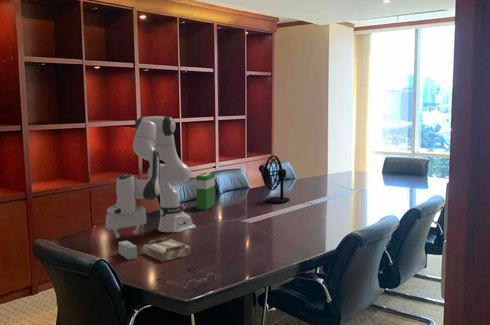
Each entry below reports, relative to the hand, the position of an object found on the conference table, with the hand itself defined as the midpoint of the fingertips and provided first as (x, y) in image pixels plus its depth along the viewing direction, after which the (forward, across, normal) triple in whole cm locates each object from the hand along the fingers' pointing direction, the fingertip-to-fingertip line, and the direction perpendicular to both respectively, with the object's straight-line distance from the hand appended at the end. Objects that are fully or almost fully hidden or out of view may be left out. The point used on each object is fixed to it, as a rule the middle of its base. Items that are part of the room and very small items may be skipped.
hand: (126, 235), depth 230 cm
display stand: (+10, -16, +10) cm, 22 cm away
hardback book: (+8, -94, -65) cm, 115 cm away
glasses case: (+10, 0, 0) cm, 10 cm away
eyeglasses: (+11, -4, +46) cm, 47 cm away
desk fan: (+8, -148, -48) cm, 156 cm away
